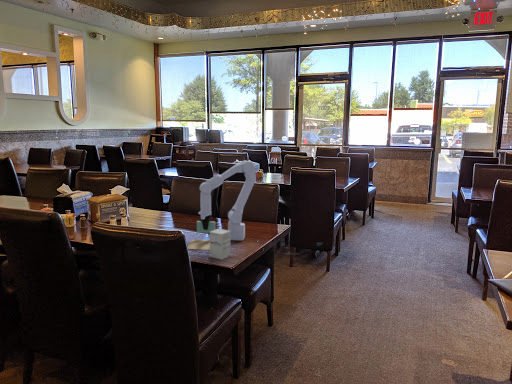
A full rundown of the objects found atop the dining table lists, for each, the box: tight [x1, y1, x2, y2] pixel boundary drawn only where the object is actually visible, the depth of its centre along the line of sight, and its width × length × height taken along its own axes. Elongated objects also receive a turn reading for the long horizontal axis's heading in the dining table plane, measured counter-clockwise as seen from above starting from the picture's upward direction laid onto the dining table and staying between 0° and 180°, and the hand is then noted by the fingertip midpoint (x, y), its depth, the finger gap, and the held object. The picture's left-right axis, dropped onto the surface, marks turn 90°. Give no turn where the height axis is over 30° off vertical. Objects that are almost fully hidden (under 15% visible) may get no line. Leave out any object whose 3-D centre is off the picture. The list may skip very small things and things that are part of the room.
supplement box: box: [209, 228, 231, 260], centre depth 178 cm, size 7×7×13 cm
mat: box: [187, 239, 210, 252], centre depth 196 cm, size 16×16×1 cm
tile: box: [196, 220, 216, 234], centre depth 204 cm, size 10×2×6 cm, turn 84°
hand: (206, 229), depth 204 cm, fingers closed on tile, 1 cm apart
